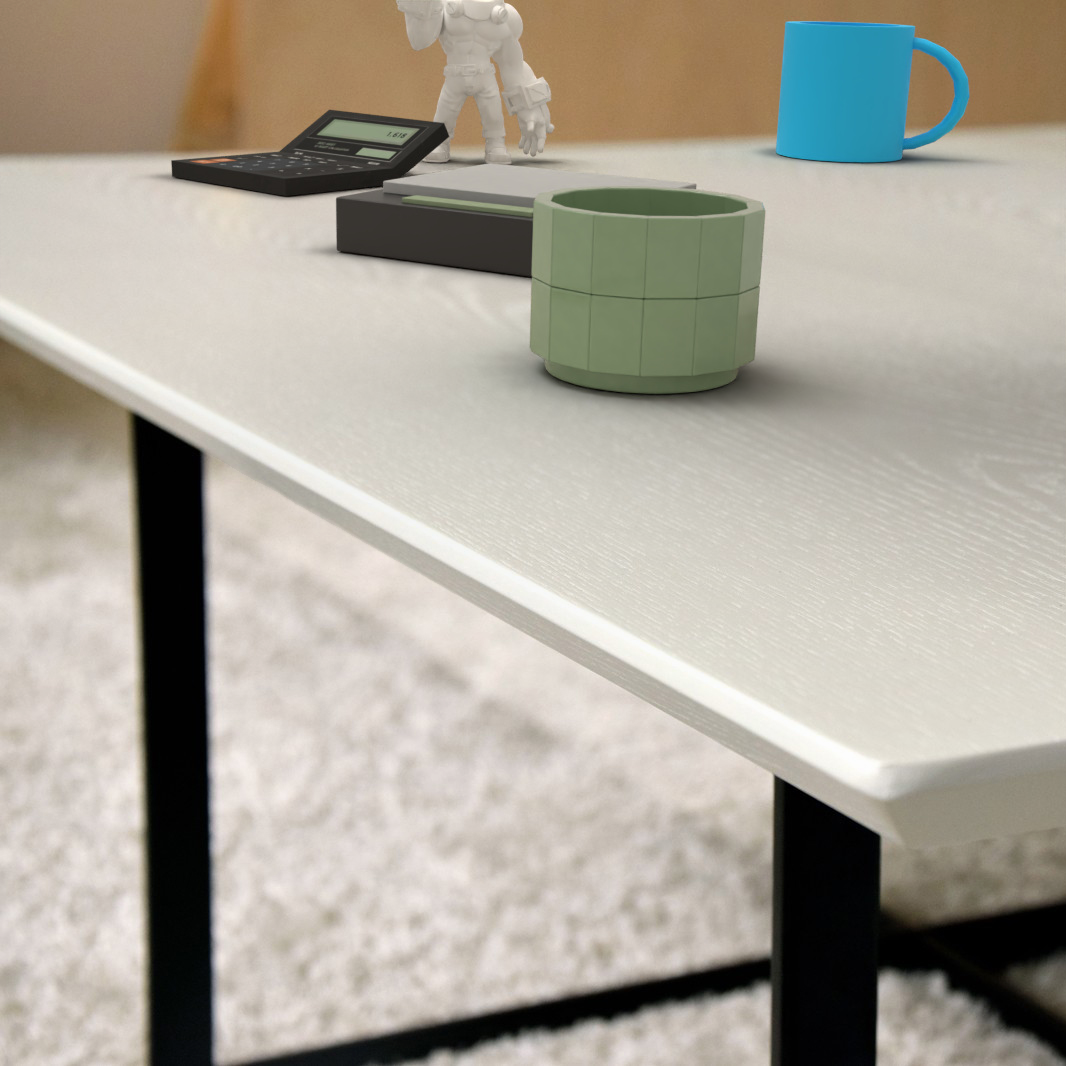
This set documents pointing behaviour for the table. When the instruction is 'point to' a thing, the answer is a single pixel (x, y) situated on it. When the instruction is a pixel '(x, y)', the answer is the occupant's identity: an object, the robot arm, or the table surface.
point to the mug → (855, 91)
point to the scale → (461, 215)
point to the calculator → (325, 156)
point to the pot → (645, 286)
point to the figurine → (481, 71)
